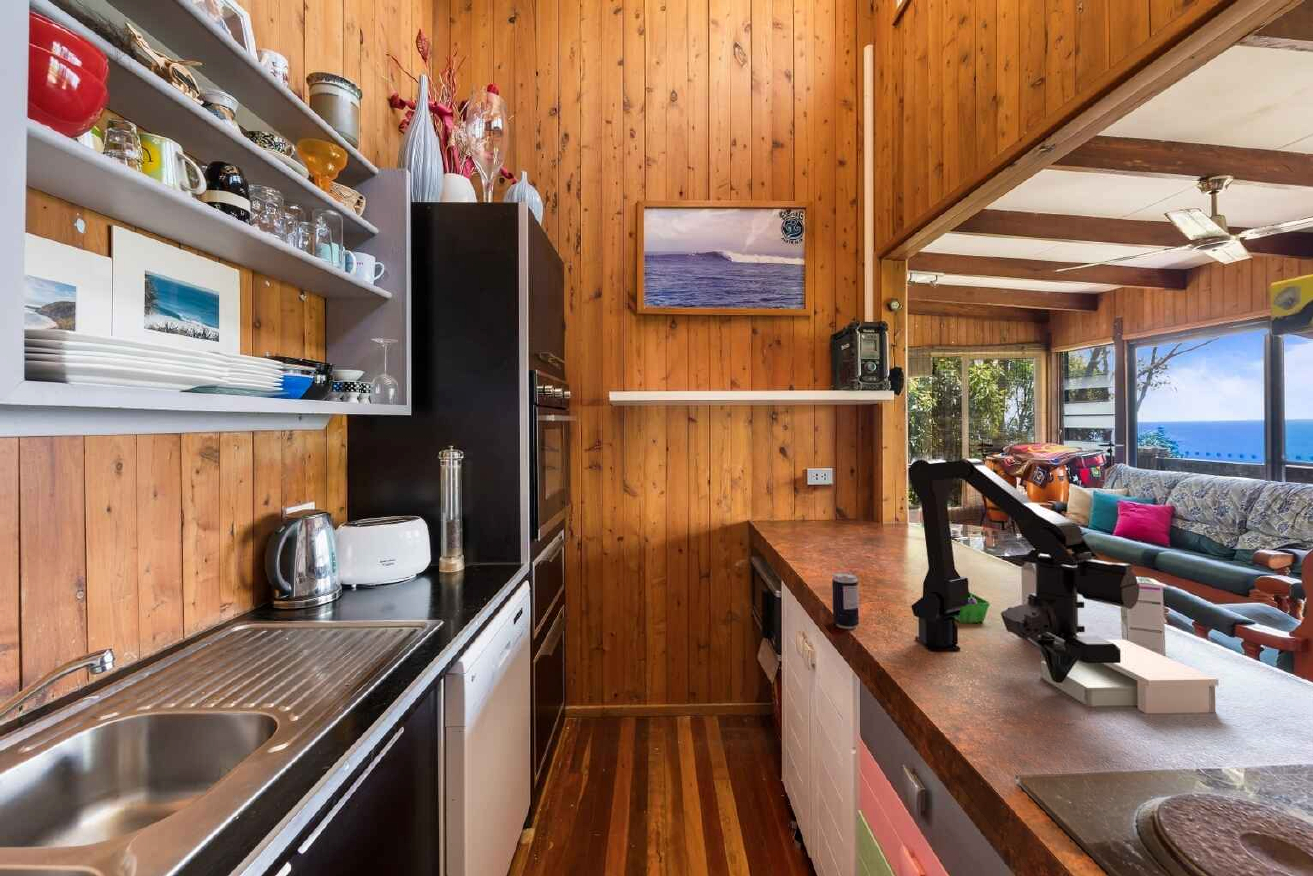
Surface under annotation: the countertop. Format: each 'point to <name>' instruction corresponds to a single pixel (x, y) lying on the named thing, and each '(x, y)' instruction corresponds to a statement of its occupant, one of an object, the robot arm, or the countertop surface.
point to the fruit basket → (974, 610)
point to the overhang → (1165, 681)
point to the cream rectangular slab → (1096, 684)
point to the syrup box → (1146, 617)
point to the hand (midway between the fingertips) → (1057, 682)
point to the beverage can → (845, 600)
